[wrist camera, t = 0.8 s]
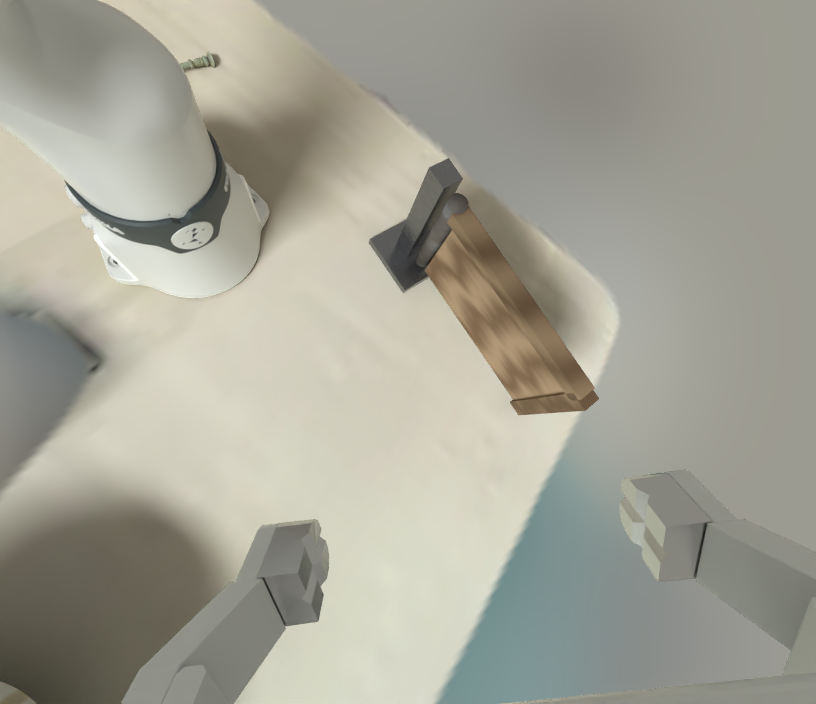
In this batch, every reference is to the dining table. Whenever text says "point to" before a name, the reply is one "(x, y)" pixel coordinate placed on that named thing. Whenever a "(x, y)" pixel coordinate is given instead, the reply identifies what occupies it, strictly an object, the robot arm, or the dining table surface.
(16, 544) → the dining table surface
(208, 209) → the robot arm
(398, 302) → the dining table surface
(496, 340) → the gate
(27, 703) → the decorative bowl
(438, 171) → the gate post
